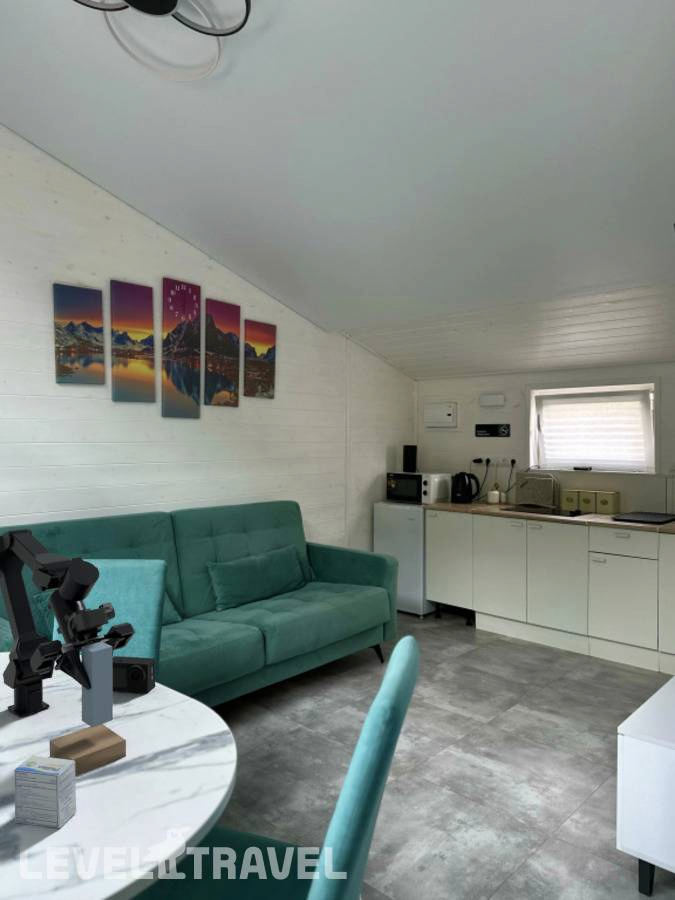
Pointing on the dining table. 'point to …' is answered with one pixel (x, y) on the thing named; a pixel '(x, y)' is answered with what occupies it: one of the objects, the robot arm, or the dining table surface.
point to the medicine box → (45, 791)
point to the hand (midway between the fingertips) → (100, 685)
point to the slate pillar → (97, 684)
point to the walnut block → (89, 747)
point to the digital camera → (133, 674)
